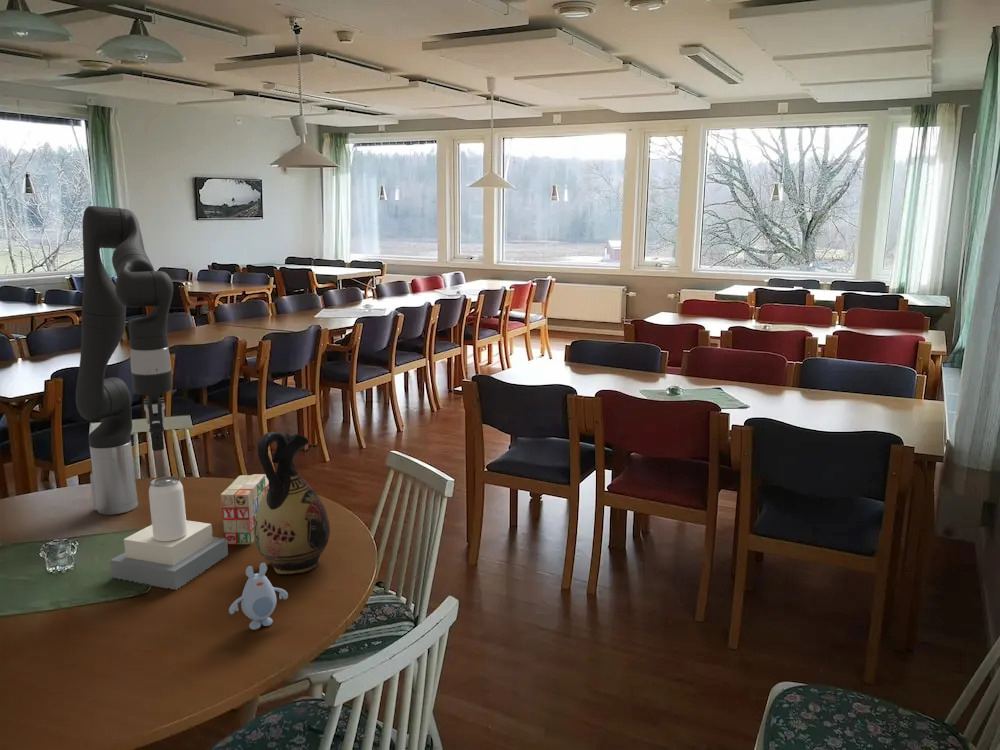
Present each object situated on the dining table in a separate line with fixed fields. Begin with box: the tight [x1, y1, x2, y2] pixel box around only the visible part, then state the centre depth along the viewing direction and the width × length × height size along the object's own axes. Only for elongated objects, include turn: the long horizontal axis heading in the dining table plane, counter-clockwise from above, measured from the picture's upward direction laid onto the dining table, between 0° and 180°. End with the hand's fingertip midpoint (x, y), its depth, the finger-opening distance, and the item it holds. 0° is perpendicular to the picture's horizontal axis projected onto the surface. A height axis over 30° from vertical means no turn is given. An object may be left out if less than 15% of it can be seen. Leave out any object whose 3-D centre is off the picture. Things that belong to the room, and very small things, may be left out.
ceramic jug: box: [254, 431, 331, 575], centre depth 159 cm, size 17×15×30 cm
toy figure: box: [228, 562, 289, 631], centre depth 138 cm, size 11×6×12 cm, turn 123°
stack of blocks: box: [220, 473, 269, 544], centre depth 182 cm, size 21×6×12 cm, turn 179°
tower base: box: [110, 519, 229, 591], centre depth 162 cm, size 16×16×8 cm
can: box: [148, 476, 187, 542], centre depth 157 cm, size 6×6×12 cm
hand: (157, 443), depth 162 cm, fingers open, 8 cm apart
